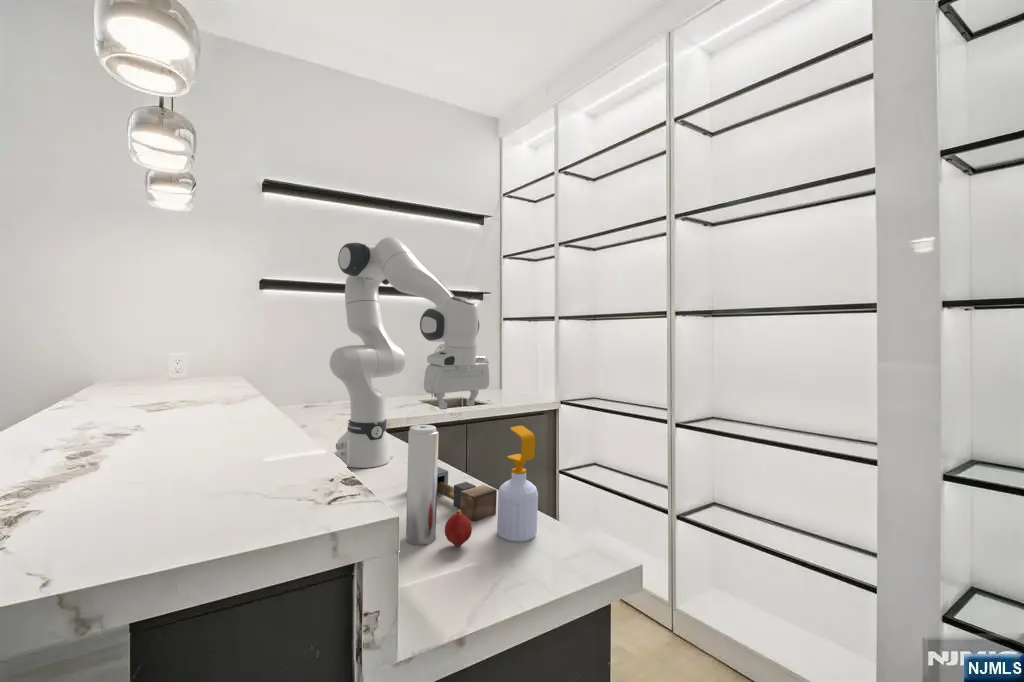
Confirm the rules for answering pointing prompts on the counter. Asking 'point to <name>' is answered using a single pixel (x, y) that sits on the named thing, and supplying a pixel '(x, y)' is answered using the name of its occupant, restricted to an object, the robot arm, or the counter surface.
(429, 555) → the counter surface
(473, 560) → the counter surface
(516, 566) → the counter surface
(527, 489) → the soap bottle
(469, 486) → the hammer
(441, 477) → the matte grey rectangular block
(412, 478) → the silver metal cylinder
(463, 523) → the onion
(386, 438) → the robot arm
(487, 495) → the socket
